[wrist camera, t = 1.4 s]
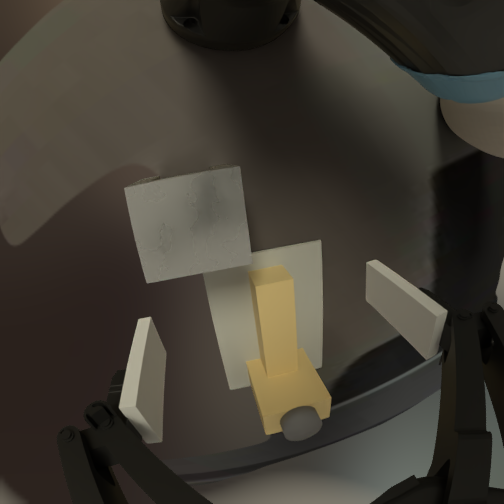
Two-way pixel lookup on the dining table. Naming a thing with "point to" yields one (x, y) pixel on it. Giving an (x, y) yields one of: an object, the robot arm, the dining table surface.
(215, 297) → the mat
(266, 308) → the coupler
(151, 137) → the dining table surface
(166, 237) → the grey slotted block
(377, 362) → the dining table surface
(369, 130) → the dining table surface
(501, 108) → the vase
